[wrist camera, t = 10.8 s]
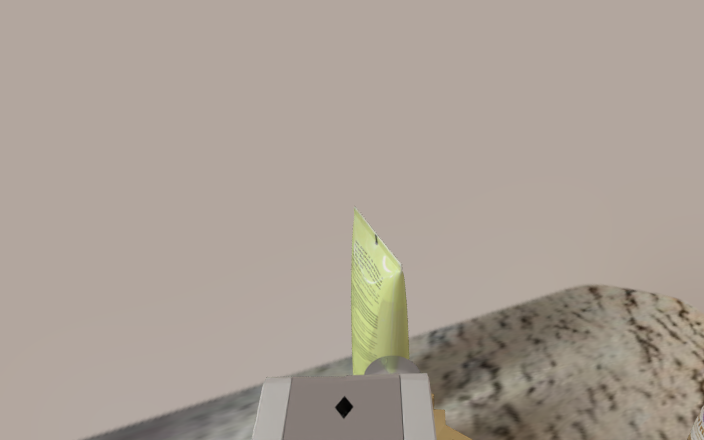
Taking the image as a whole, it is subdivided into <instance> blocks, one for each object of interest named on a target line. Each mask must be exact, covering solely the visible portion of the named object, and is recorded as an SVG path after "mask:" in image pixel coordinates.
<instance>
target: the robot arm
mask: <svg viewBox="0 0 704 440" xmlns="http://www.w3.org/2000/svg"><path fill="white" fill-rule="evenodd" d="M252 440H437V437H436V429H435V421H434V413H433V405H432V397H431V389H430V381H429V377H428V374H427V373H412V374H400V376H399V373H393V374H369V375H346V377H267V378H266V380H265V382H264V384H263V386H262V391H261V396H260V401H259V406H258V411H257V416H256V421H255V426H254V431H253V435H252Z"/></svg>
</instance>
